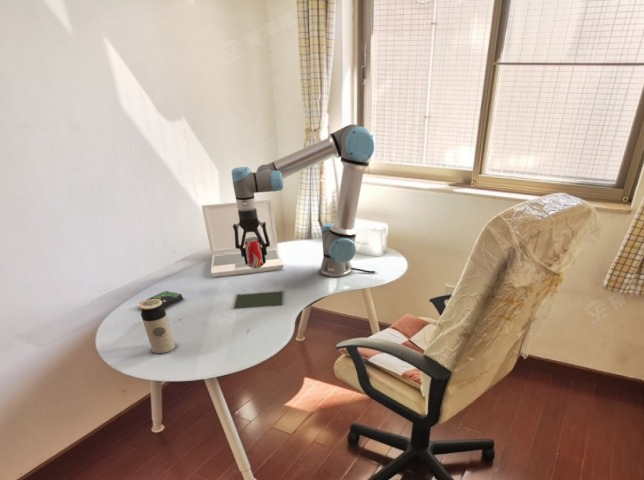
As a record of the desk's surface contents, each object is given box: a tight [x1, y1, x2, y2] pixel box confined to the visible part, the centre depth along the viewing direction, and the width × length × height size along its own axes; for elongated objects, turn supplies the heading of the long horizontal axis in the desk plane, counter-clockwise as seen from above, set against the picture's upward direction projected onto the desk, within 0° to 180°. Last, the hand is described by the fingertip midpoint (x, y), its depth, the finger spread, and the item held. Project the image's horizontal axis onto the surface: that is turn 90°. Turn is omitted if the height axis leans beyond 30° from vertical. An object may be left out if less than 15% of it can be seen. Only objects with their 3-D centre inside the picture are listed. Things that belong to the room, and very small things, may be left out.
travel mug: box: [138, 299, 176, 354], centre depth 163 cm, size 8×8×18 cm
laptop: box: [201, 198, 284, 278], centre depth 229 cm, size 35×26×28 cm
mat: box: [233, 291, 283, 309], centre depth 201 cm, size 20×14×1 cm
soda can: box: [244, 237, 264, 268], centre depth 198 cm, size 7×7×12 cm
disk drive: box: [138, 290, 184, 310], centre depth 200 cm, size 10×3×15 cm
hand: (255, 262), depth 201 cm, fingers closed on soda can, 7 cm apart
